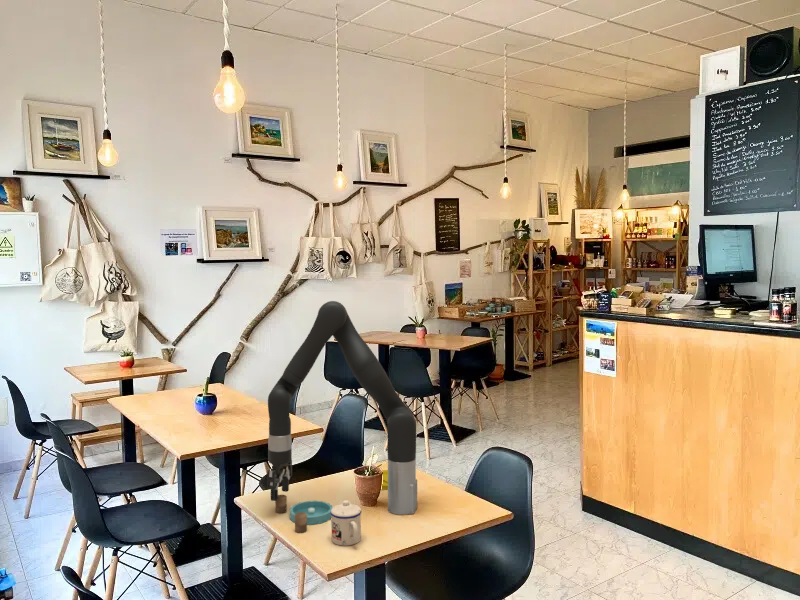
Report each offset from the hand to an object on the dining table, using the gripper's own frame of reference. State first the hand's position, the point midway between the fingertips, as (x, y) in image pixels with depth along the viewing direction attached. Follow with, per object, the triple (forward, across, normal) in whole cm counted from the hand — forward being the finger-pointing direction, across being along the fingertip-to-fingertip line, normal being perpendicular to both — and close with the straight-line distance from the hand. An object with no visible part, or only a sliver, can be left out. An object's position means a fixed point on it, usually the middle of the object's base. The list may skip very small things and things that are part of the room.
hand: (279, 495), depth 210 cm
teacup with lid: (+5, -16, -29) cm, 33 cm away
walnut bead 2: (+5, -12, -12) cm, 18 cm away
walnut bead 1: (+5, 0, 0) cm, 5 cm away
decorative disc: (+5, +35, -26) cm, 44 cm away
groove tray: (+5, -1, -11) cm, 13 cm away
